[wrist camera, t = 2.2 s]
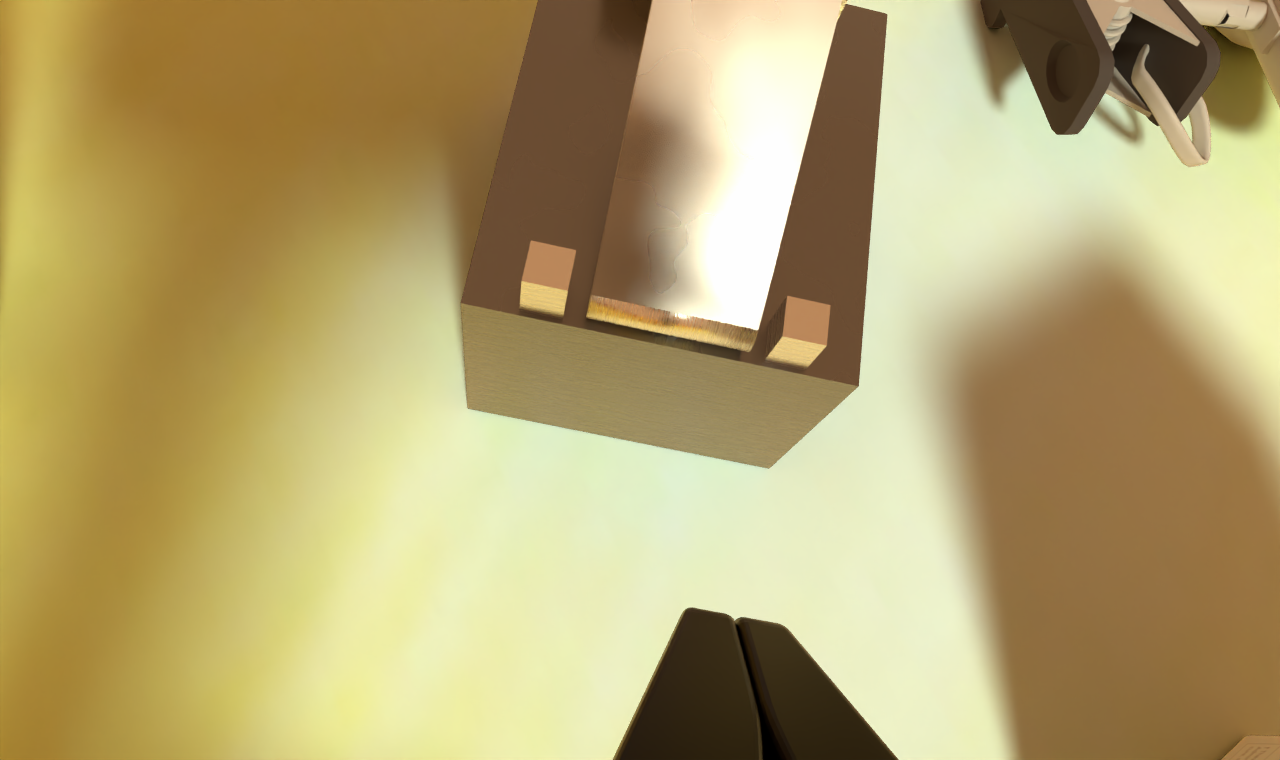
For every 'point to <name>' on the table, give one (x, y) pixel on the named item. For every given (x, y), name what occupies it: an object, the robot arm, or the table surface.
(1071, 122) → the clip-on lamp
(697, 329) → the tan flat block
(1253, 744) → the supplement box
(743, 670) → the robot arm
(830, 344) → the dark grey box
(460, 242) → the table surface
